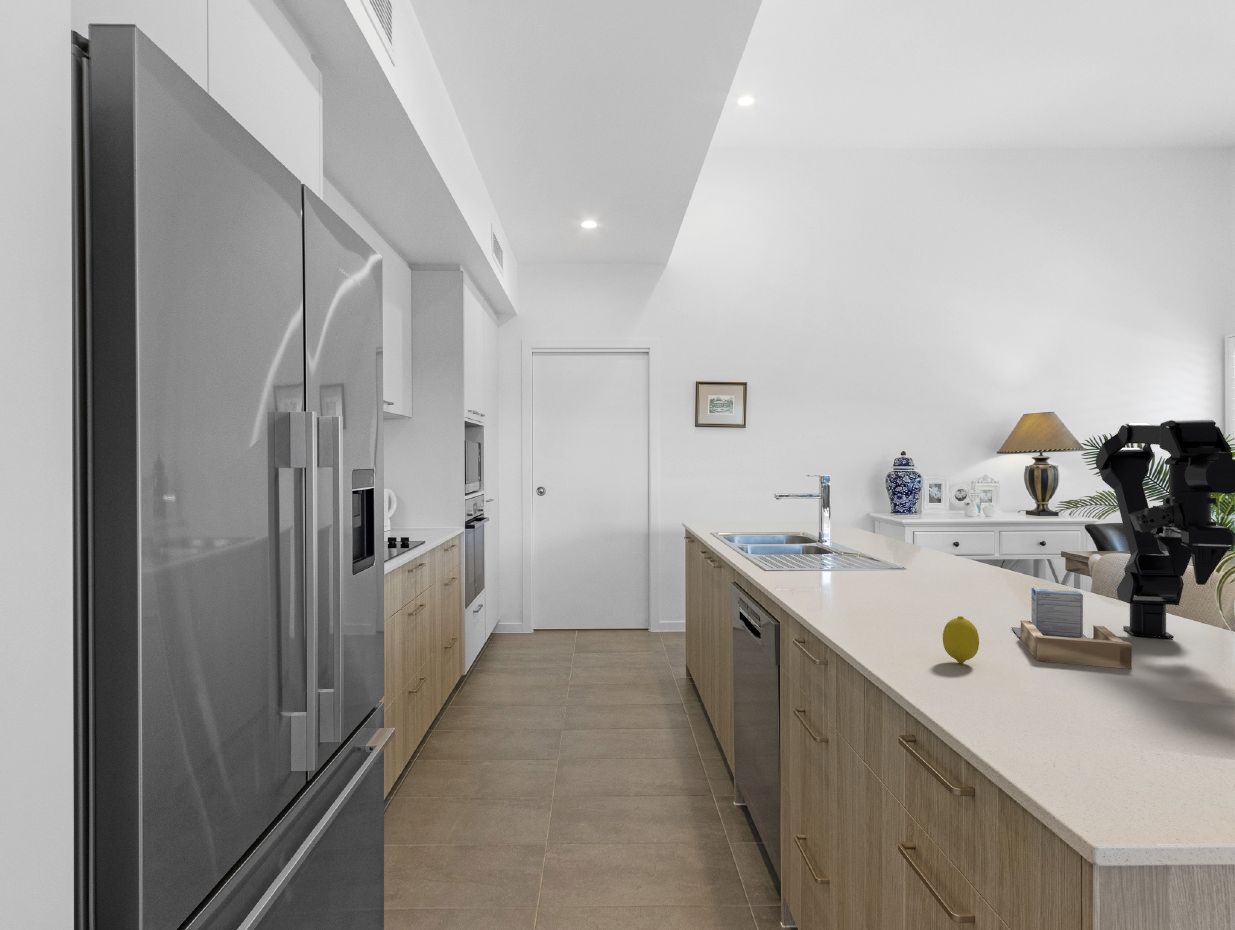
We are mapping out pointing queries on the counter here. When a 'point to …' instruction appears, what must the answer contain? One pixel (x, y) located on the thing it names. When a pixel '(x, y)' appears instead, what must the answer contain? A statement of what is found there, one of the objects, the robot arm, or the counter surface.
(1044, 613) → the medicine box
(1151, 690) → the counter surface
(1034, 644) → the dispenser rack
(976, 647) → the lemon
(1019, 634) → the mat
